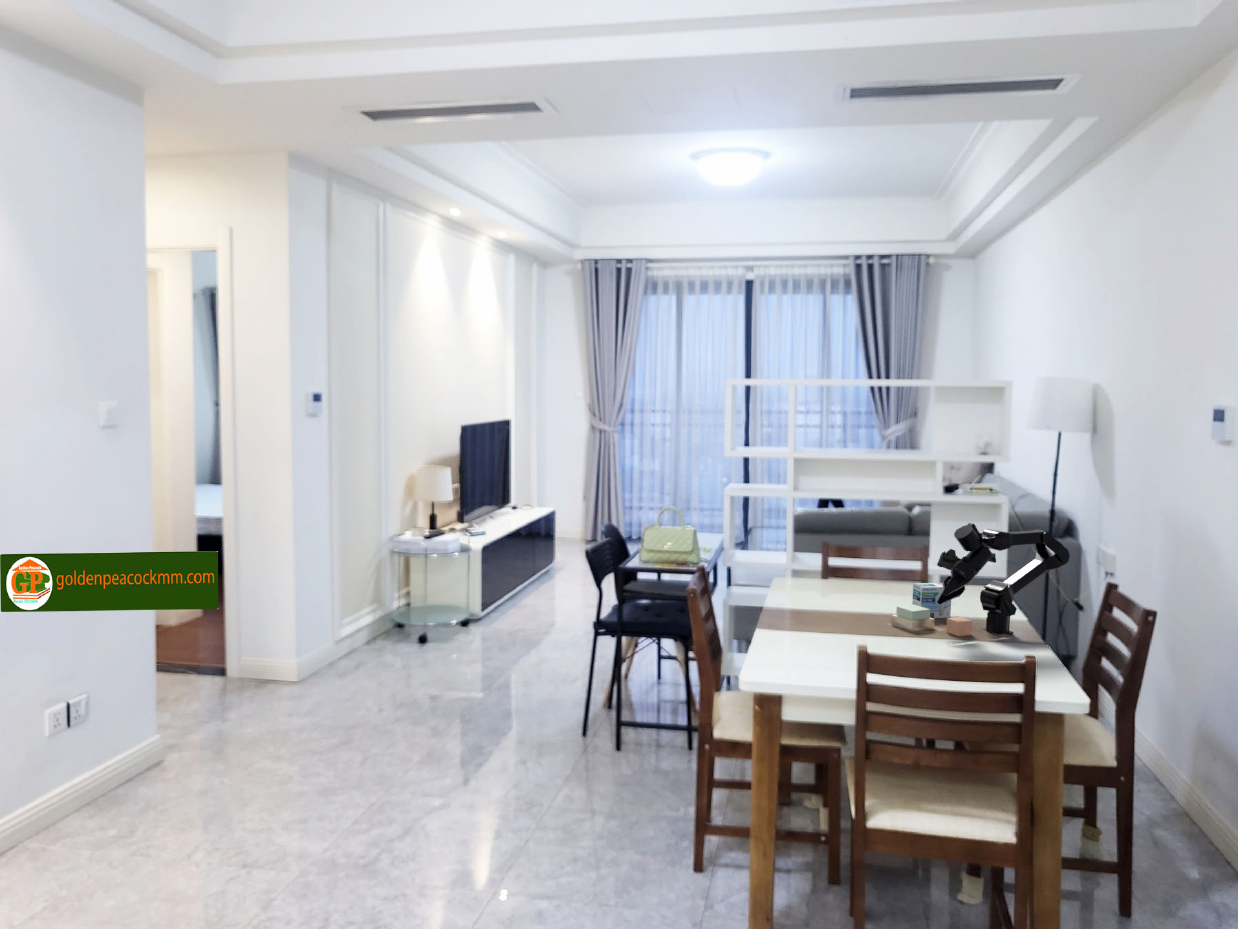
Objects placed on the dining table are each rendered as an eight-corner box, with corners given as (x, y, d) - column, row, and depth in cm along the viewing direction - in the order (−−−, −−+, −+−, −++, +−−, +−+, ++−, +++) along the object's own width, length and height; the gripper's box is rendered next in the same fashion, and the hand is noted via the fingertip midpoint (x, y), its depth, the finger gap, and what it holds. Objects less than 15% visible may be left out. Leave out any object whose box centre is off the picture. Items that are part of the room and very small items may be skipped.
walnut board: (925, 620, 308) (925, 619, 308) (958, 631, 296) (958, 629, 296) (884, 625, 301) (884, 623, 301) (915, 636, 288) (915, 634, 288)
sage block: (913, 613, 303) (914, 604, 302) (929, 618, 296) (930, 609, 296) (896, 615, 300) (896, 606, 299) (912, 620, 293) (912, 611, 293)
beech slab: (913, 621, 304) (913, 612, 304) (934, 628, 296) (934, 618, 296) (891, 624, 300) (891, 615, 300) (911, 631, 292) (911, 621, 292)
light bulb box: (920, 620, 309) (921, 587, 308) (910, 615, 316) (912, 582, 315) (951, 619, 311) (952, 586, 310) (941, 614, 317) (942, 582, 317)
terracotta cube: (958, 633, 294) (959, 616, 293) (971, 637, 289) (971, 620, 289) (946, 634, 292) (946, 618, 291) (958, 638, 287) (959, 622, 287)
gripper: (945, 555, 300) (913, 590, 297) (957, 534, 284) (924, 571, 280) (975, 578, 296) (943, 614, 293) (989, 558, 280) (956, 596, 276)
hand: (941, 599), depth 286 cm, fingers open, 9 cm apart
